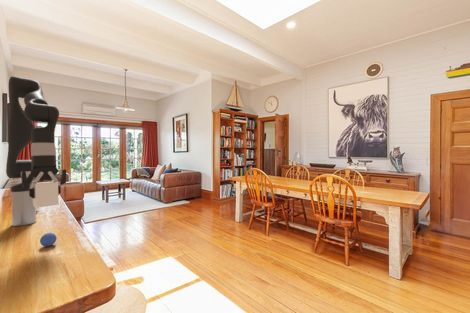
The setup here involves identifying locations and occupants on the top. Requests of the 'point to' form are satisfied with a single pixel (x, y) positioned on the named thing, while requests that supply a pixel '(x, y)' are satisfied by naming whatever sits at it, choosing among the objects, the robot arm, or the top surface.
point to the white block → (46, 194)
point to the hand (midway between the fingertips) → (45, 196)
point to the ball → (48, 239)
